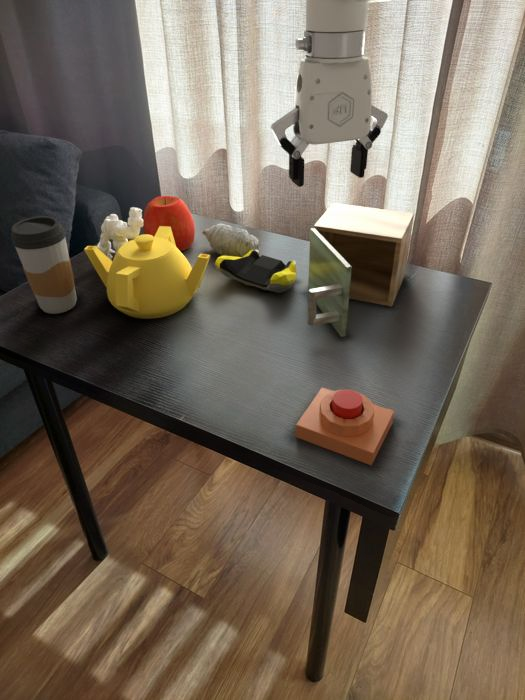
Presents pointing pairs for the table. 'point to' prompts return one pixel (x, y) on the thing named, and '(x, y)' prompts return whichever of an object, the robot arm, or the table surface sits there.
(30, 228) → the coffee cup
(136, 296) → the teapot
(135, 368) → the table surface
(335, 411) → the button
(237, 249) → the seashell
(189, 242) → the apple
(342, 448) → the button block
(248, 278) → the black and yellow shoe
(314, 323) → the door
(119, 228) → the figurine
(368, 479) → the table surface
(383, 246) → the cupboard
